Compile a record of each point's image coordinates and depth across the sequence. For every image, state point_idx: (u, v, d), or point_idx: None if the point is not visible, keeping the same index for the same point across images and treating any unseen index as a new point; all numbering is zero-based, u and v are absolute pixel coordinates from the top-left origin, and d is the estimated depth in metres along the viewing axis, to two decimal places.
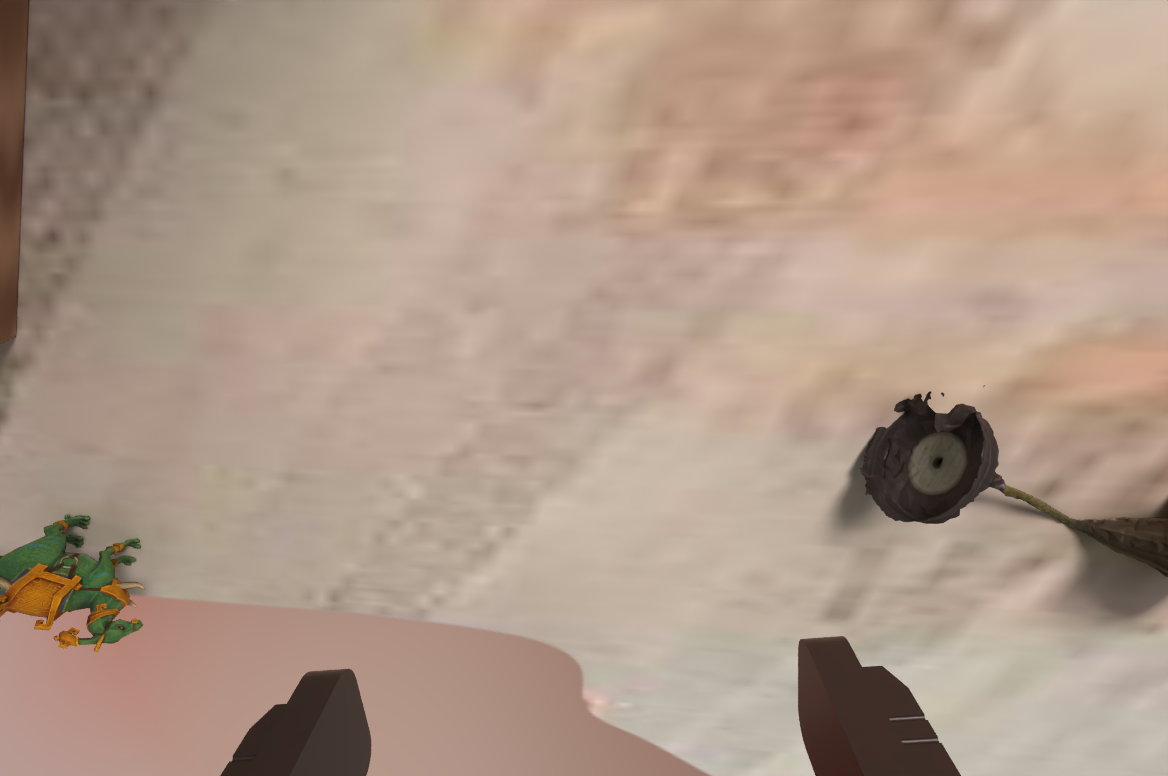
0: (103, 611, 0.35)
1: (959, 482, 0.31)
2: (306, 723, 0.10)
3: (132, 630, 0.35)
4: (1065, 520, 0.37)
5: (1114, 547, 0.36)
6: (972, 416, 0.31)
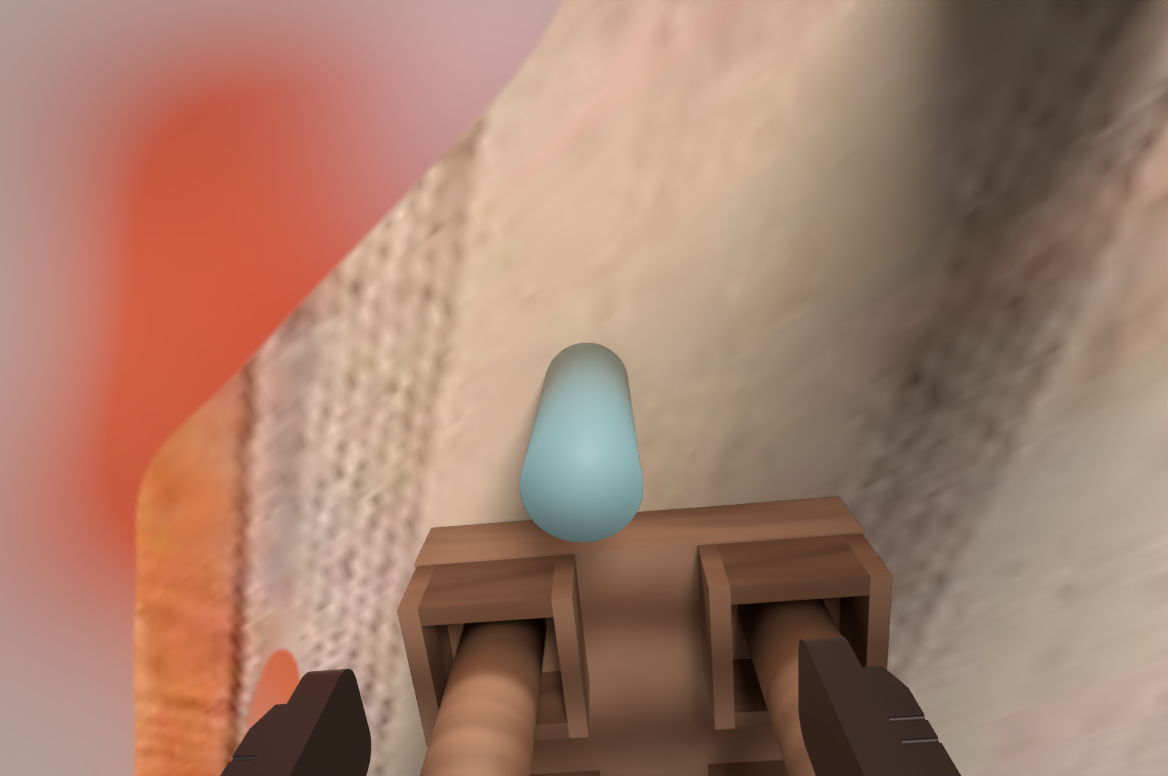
0: None
1: None
2: (306, 723, 0.10)
3: None
4: None
5: None
6: None
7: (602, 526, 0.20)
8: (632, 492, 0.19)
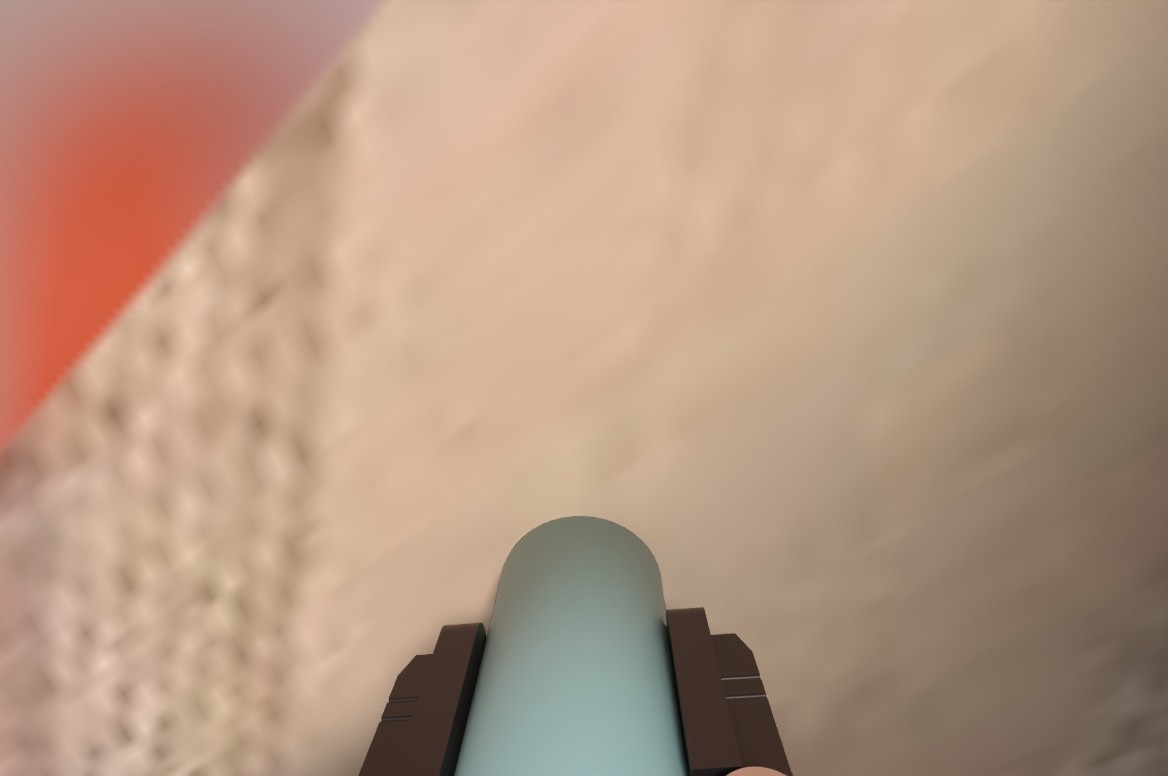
0: None
1: None
2: (457, 668, 0.11)
3: None
4: None
5: None
6: None
7: None
8: None
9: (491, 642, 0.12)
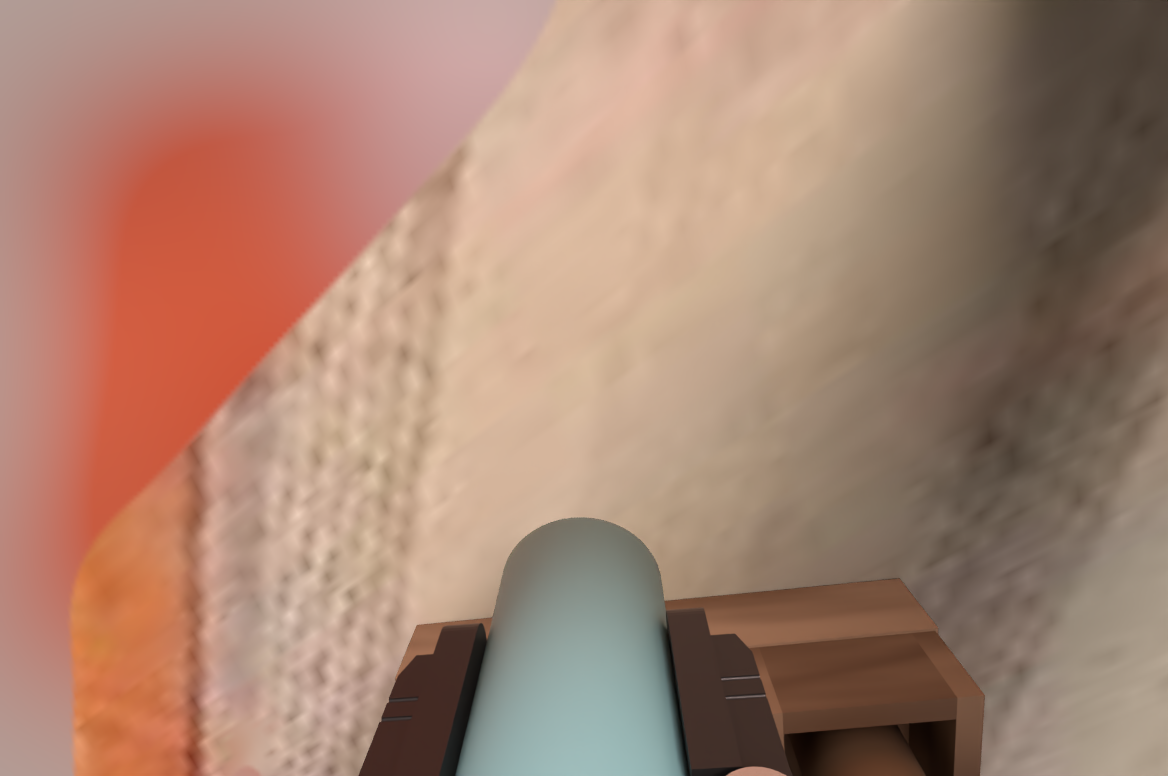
0: None
1: None
2: (457, 668, 0.11)
3: None
4: None
5: None
6: None
7: None
8: None
9: (492, 643, 0.12)
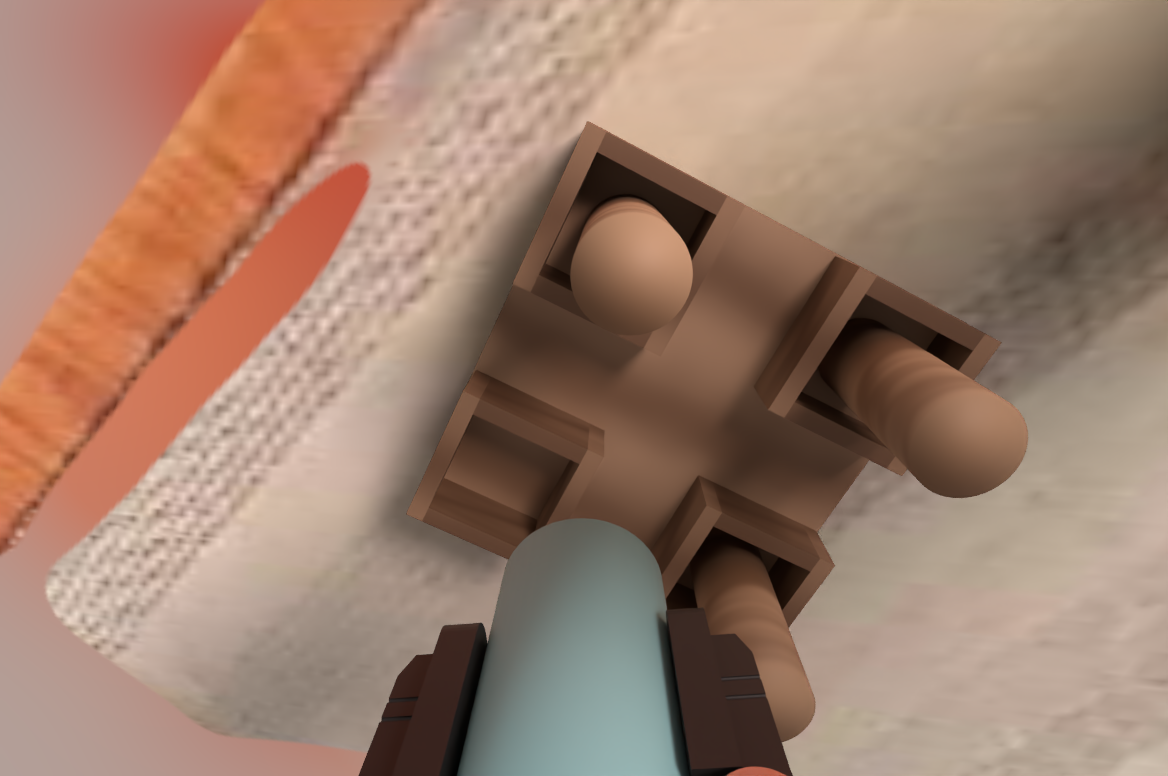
0: None
1: None
2: (457, 668, 0.11)
3: None
4: None
5: None
6: None
7: None
8: None
9: (493, 644, 0.12)
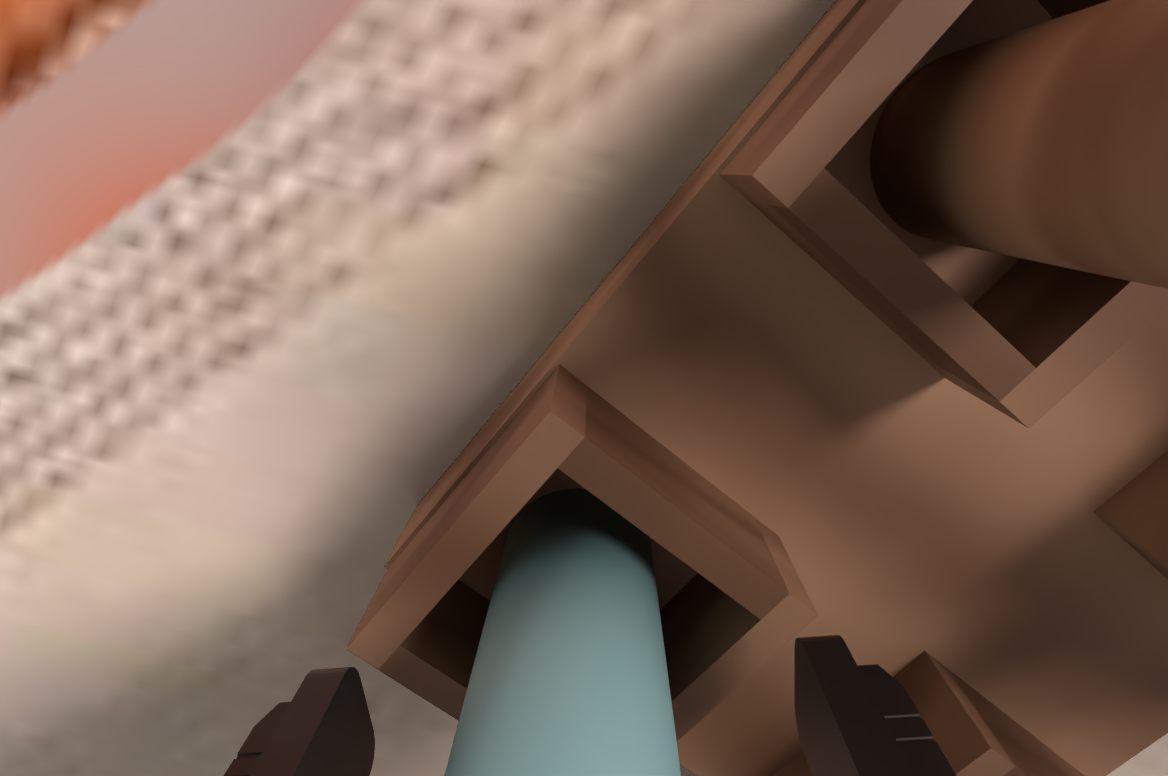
0: None
1: None
2: (311, 721, 0.10)
3: None
4: None
5: None
6: None
7: None
8: None
9: (496, 594, 0.13)
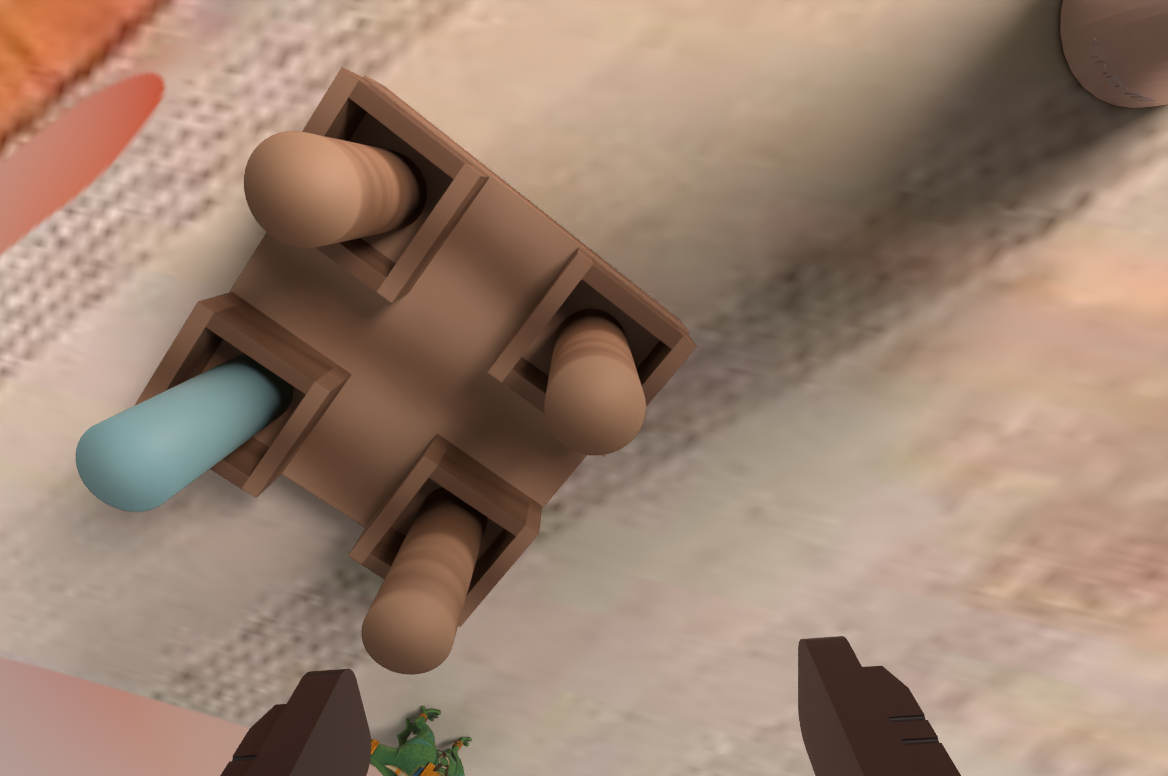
0: None
1: None
2: (306, 723, 0.10)
3: None
4: None
5: None
6: None
7: (151, 497, 0.24)
8: (168, 468, 0.24)
9: None
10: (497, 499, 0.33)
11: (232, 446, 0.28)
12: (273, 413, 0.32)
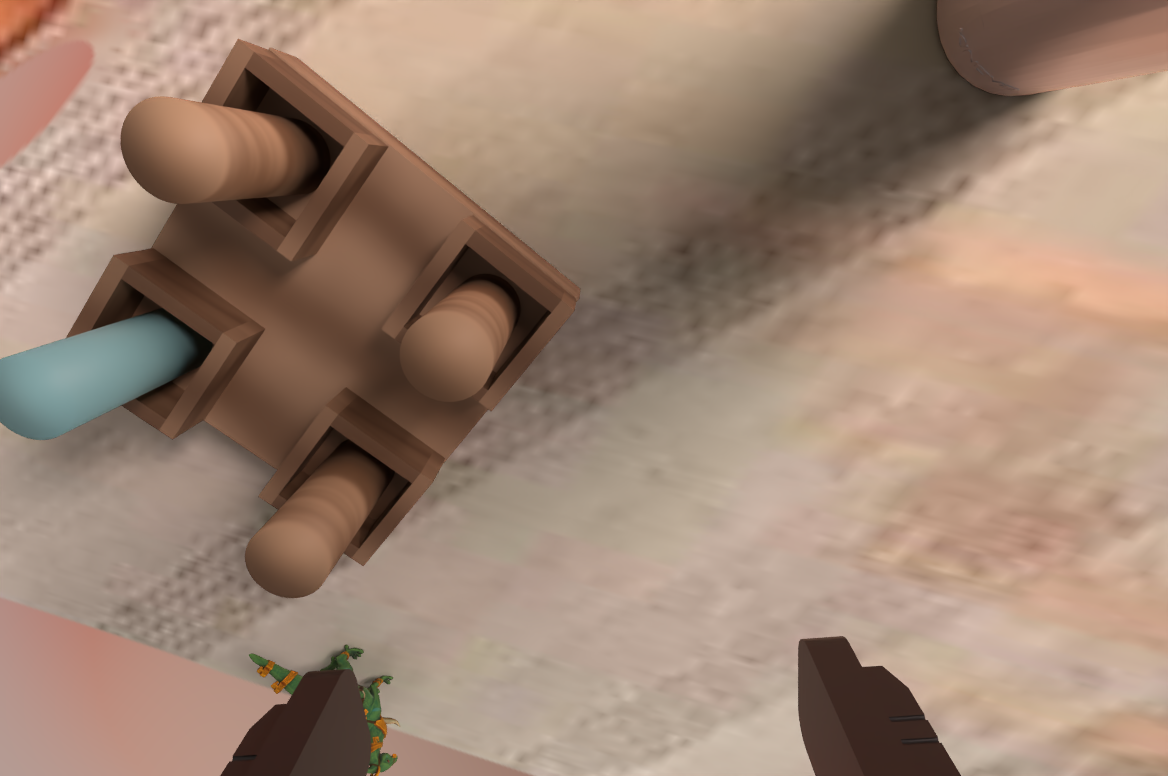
0: (377, 743, 0.43)
1: None
2: (306, 723, 0.10)
3: (392, 764, 0.43)
4: None
5: None
6: None
7: (52, 427, 0.27)
8: (67, 401, 0.27)
9: None
10: (395, 448, 0.35)
11: (140, 388, 0.31)
12: (189, 362, 0.34)
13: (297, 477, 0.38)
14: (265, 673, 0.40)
